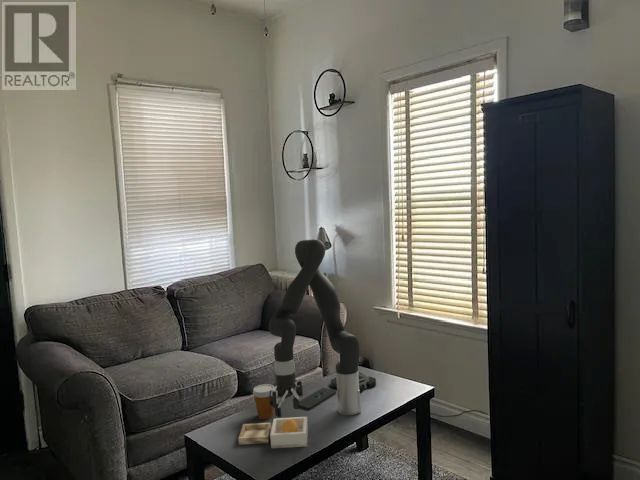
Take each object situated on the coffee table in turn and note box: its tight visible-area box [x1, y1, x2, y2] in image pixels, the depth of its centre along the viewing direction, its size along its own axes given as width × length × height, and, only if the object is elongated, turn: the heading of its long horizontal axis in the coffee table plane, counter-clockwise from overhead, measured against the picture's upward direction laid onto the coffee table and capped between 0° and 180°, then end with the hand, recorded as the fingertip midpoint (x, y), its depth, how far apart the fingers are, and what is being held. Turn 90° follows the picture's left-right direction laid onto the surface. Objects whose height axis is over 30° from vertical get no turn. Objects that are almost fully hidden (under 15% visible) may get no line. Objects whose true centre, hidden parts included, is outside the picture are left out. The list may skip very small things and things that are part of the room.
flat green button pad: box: [329, 371, 377, 392], centre depth 228 cm, size 18×18×5 cm
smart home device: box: [298, 387, 337, 411], centre depth 214 cm, size 8×2×20 cm
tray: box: [238, 422, 272, 446], centre depth 185 cm, size 11×11×2 cm
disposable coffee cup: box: [252, 383, 276, 420], centre depth 201 cm, size 10×10×12 cm
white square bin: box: [269, 416, 309, 449], centre depth 182 cm, size 13×13×5 cm
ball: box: [282, 420, 297, 433], centre depth 181 cm, size 6×6×6 cm
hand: (287, 412), depth 181 cm, fingers open, 8 cm apart
